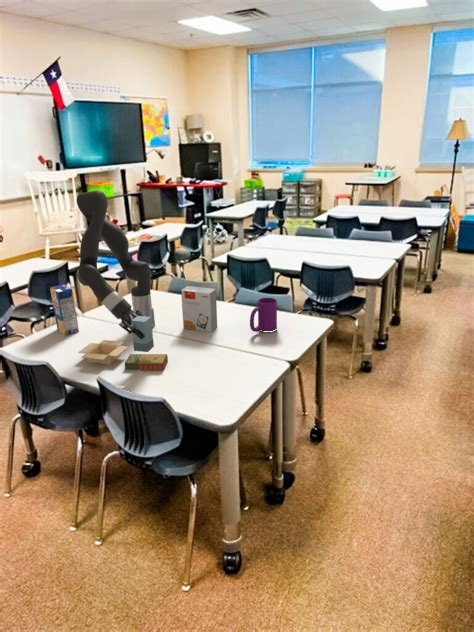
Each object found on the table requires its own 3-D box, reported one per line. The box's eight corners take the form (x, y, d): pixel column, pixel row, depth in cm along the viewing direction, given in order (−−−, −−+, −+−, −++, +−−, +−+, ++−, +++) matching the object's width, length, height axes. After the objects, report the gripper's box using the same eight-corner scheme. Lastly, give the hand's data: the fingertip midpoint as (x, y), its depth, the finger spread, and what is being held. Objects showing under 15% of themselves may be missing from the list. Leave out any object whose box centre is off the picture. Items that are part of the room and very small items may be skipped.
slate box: (134, 350, 190) (130, 320, 185) (140, 345, 195) (137, 315, 190) (147, 352, 188) (145, 321, 184) (153, 346, 193) (151, 316, 189)
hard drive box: (182, 328, 232) (180, 290, 225) (190, 323, 238) (187, 285, 231) (211, 332, 226) (209, 293, 219) (218, 326, 233) (216, 288, 226)
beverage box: (65, 335, 228) (58, 292, 220) (57, 329, 236) (49, 287, 228) (79, 331, 232) (72, 289, 224) (70, 325, 240) (63, 284, 232)
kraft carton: (74, 366, 196) (72, 356, 194) (97, 349, 212) (95, 339, 210) (113, 370, 191) (112, 360, 190) (133, 352, 207) (132, 342, 206)
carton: (163, 372, 190) (162, 362, 189) (124, 371, 191) (123, 362, 190) (168, 362, 198) (167, 353, 196) (130, 362, 199) (129, 353, 198)
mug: (281, 329, 227) (281, 300, 222) (257, 338, 218) (257, 308, 212) (267, 324, 234) (267, 296, 228) (244, 333, 224) (243, 303, 219)
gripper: (112, 304, 180) (144, 336, 181) (130, 293, 193) (159, 323, 194) (102, 316, 183) (133, 347, 184) (120, 304, 196) (149, 333, 197)
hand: (146, 334), depth 189 cm, fingers closed on slate box, 5 cm apart
